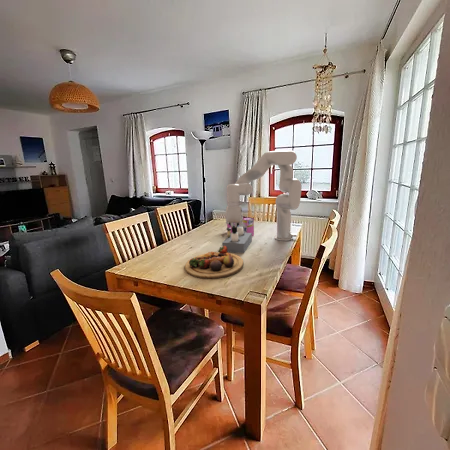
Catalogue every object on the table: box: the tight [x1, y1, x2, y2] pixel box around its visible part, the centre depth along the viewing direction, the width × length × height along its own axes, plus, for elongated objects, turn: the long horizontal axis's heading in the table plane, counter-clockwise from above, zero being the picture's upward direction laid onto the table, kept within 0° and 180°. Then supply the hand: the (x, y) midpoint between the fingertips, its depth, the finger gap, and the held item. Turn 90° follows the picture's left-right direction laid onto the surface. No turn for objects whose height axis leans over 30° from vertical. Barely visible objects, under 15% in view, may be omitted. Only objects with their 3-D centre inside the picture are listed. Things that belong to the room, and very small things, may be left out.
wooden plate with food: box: [184, 246, 244, 280], centre depth 134 cm, size 32×32×8 cm
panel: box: [221, 232, 253, 254], centre depth 164 cm, size 14×24×6 cm, turn 163°
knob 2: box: [237, 227, 244, 236], centre depth 170 cm, size 4×4×7 cm
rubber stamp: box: [226, 227, 231, 238], centre depth 165 cm, size 3×3×6 cm
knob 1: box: [230, 232, 239, 242], centre depth 157 cm, size 4×4×7 cm
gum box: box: [226, 215, 255, 237], centre depth 193 cm, size 24×8×14 cm, turn 41°
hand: (234, 233), depth 156 cm, fingers closed
